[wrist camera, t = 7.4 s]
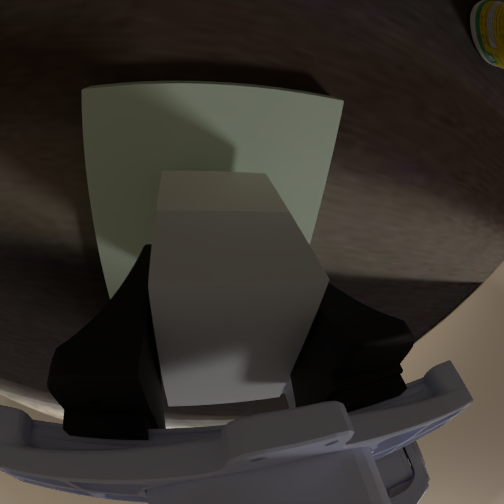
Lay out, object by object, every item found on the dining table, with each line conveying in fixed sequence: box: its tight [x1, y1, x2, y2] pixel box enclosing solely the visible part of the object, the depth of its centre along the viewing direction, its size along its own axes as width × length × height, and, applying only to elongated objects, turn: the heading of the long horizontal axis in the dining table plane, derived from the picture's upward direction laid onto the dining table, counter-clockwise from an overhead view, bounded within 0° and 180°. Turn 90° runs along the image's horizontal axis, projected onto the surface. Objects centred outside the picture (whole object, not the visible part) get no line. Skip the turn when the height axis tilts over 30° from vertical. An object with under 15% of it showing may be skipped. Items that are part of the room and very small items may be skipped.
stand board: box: [82, 81, 344, 299], centre depth 16 cm, size 14×12×2 cm
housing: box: [148, 171, 329, 406], centre depth 12 cm, size 4×6×7 cm
